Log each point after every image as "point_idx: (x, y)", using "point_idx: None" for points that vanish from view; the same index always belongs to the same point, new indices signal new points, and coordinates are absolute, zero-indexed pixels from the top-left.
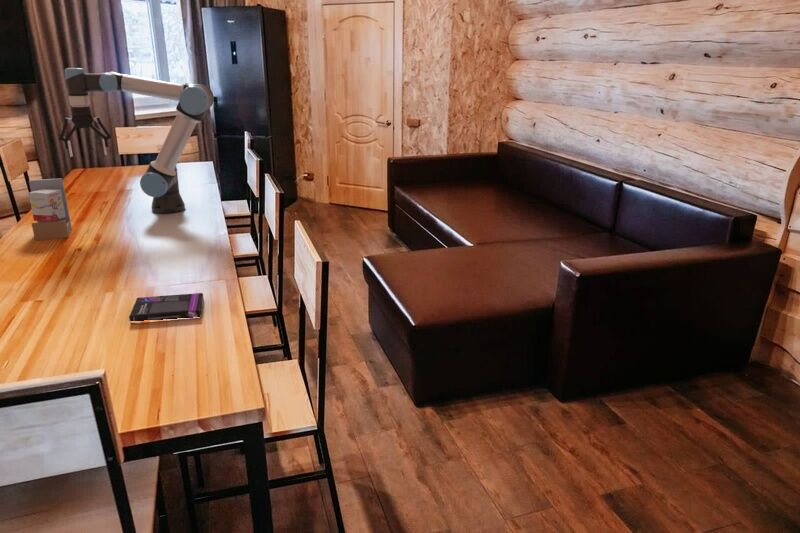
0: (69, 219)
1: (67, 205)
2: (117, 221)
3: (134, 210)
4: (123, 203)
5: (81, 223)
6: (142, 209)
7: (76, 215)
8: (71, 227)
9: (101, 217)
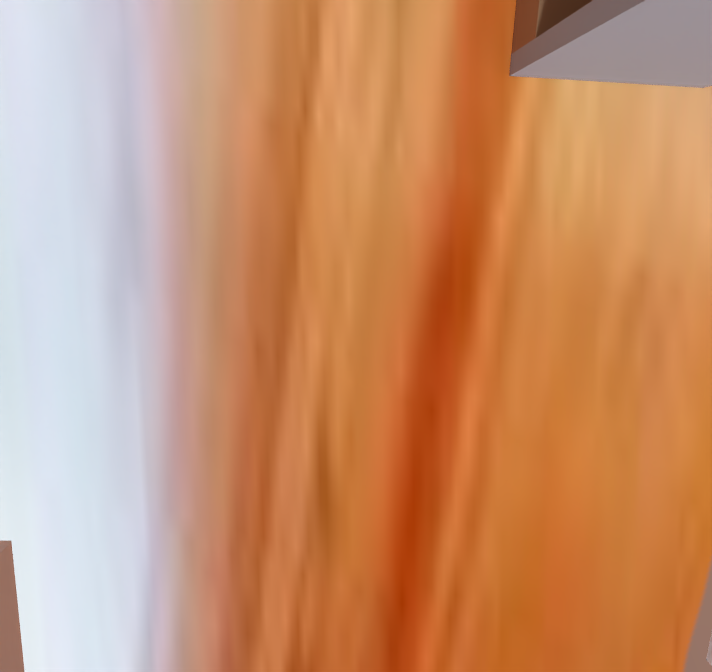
0: (539, 37)
1: (583, 33)
2: (205, 160)
3: (99, 437)
4: (185, 645)
5: (447, 199)
6: (42, 447)
7: (476, 427)
8: (513, 66)
9: (318, 318)
